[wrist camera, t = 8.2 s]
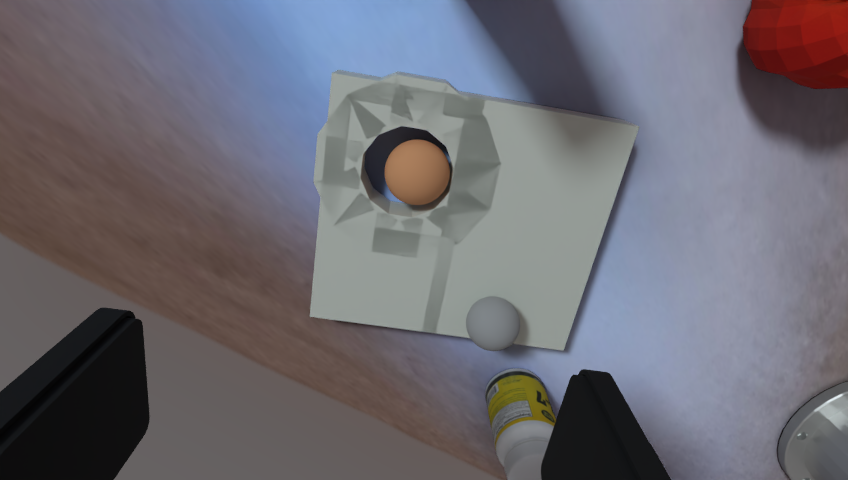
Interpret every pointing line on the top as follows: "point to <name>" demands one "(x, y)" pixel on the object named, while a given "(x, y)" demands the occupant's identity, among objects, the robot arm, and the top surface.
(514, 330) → the grey ball
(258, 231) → the top surface
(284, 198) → the top surface
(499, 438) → the supplement bottle
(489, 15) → the top surface
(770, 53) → the tomato
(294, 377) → the top surface
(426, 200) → the ball
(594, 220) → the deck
